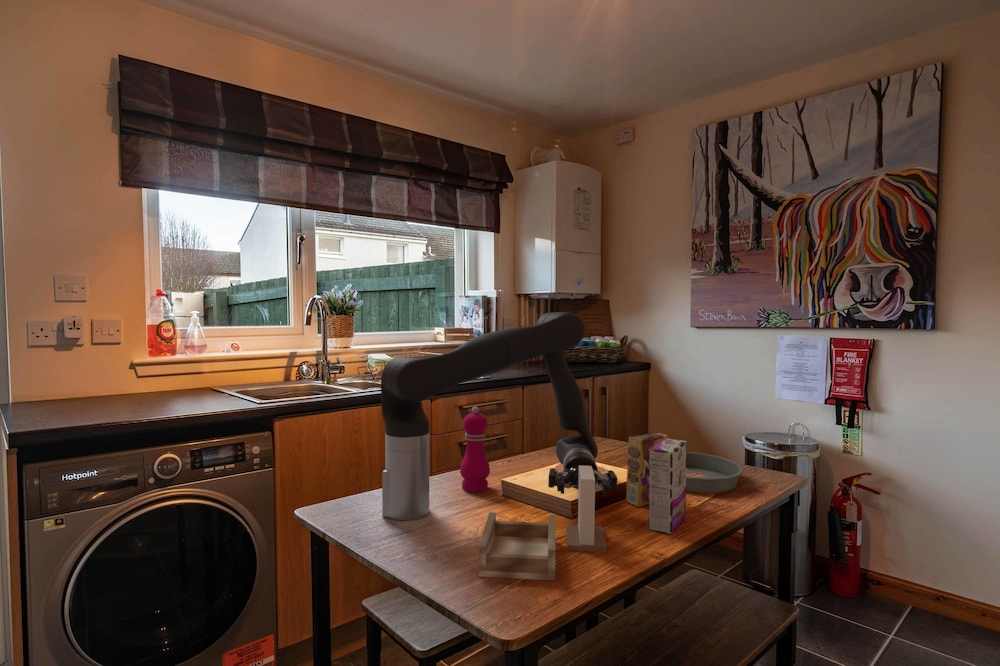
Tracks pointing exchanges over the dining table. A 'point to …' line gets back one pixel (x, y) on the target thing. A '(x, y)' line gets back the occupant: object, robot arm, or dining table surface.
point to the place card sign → (586, 517)
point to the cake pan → (711, 473)
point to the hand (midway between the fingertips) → (584, 489)
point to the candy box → (640, 467)
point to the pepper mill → (475, 453)
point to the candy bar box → (667, 485)
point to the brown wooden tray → (517, 549)
